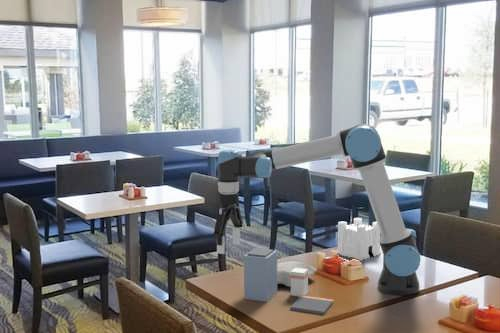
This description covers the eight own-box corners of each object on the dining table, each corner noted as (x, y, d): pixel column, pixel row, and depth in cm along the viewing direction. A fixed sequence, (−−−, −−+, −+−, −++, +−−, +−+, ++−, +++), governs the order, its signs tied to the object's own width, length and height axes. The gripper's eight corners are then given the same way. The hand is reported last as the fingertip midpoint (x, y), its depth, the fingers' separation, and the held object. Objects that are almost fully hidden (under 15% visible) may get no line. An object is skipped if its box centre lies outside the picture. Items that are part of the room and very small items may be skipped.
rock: (247, 265, 232) (304, 251, 239) (250, 282, 233) (306, 267, 240) (263, 282, 214) (325, 266, 221) (266, 300, 215) (327, 284, 222)
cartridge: (308, 292, 215) (308, 269, 214) (304, 297, 211) (304, 273, 210) (295, 290, 218) (295, 267, 216) (290, 295, 213) (290, 271, 212)
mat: (333, 302, 205) (333, 299, 205) (324, 314, 194) (324, 311, 194) (301, 298, 210) (301, 295, 210) (290, 309, 199) (290, 306, 199)
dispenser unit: (277, 292, 215) (277, 249, 213) (267, 301, 206) (267, 256, 204) (253, 289, 219) (252, 246, 217) (242, 298, 210) (242, 253, 208)
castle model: (356, 248, 274) (357, 217, 272) (381, 254, 264) (381, 222, 262) (336, 254, 265) (337, 222, 263) (361, 260, 254) (361, 227, 252)
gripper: (233, 186, 225) (233, 239, 228) (203, 197, 203) (204, 256, 205) (251, 187, 222) (251, 241, 225) (223, 199, 200) (223, 258, 203)
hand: (228, 248), depth 215 cm, fingers open, 13 cm apart
